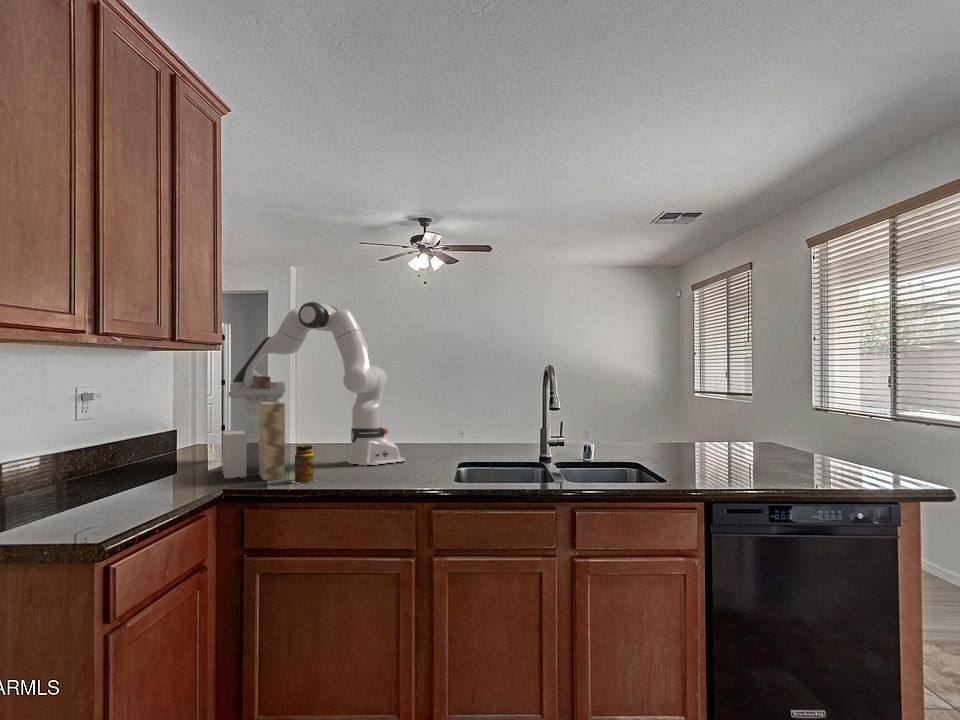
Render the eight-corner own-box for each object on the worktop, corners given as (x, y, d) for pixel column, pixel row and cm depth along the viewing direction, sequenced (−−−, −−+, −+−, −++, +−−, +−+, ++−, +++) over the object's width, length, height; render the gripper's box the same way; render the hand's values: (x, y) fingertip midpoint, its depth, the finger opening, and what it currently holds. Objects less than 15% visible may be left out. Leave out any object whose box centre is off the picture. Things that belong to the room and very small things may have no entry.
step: (242, 470, 224) (242, 430, 224) (246, 476, 211) (246, 434, 211) (222, 471, 221) (222, 431, 221) (224, 478, 207) (224, 435, 208)
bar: (264, 386, 233) (264, 375, 233) (270, 388, 215) (270, 376, 215) (253, 386, 232) (253, 375, 232) (258, 388, 214) (258, 377, 214)
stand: (279, 472, 218) (279, 401, 219) (284, 479, 207) (284, 403, 207) (259, 474, 215) (259, 402, 215) (263, 480, 204) (263, 404, 204)
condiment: (318, 481, 203) (318, 445, 203) (294, 484, 197) (295, 448, 197) (307, 478, 208) (308, 443, 208) (284, 481, 202) (284, 446, 202)
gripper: (227, 390, 237) (229, 373, 226) (281, 389, 246) (286, 372, 235) (228, 404, 234) (230, 387, 223) (282, 403, 243) (287, 387, 232)
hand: (259, 380), depth 229 cm, fingers closed on bar, 4 cm apart
